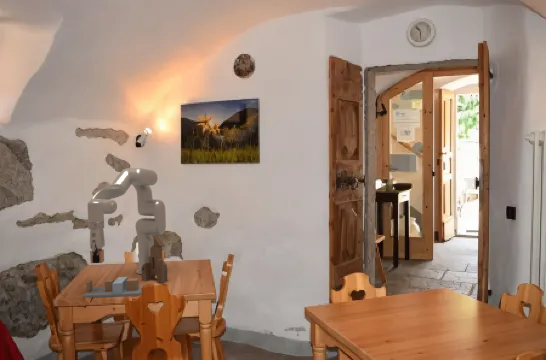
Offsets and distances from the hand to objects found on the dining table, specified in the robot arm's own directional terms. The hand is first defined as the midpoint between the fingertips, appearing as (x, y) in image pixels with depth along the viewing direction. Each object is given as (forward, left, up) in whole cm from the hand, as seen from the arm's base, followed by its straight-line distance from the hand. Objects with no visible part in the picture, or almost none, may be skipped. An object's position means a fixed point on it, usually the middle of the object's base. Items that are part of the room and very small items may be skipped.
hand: (97, 261), depth 262 cm
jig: (0, +8, -16) cm, 18 cm away
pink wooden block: (0, 0, 0) cm, 0 cm away
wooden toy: (-21, +25, -16) cm, 36 cm away
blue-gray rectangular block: (+1, +11, -15) cm, 18 cm away
